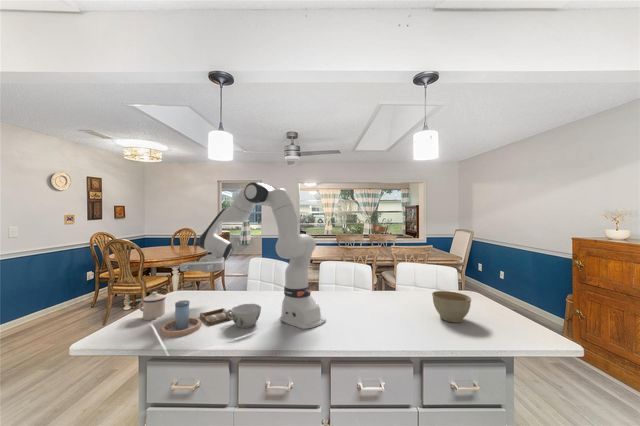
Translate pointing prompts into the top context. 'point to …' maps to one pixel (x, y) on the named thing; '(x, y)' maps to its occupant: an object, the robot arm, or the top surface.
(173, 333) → the tan flat ring
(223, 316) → the pebble
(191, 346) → the top surface
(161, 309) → the teacup with lid
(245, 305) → the teacup
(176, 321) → the pebble jar
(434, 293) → the planter bowl
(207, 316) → the parts tray
